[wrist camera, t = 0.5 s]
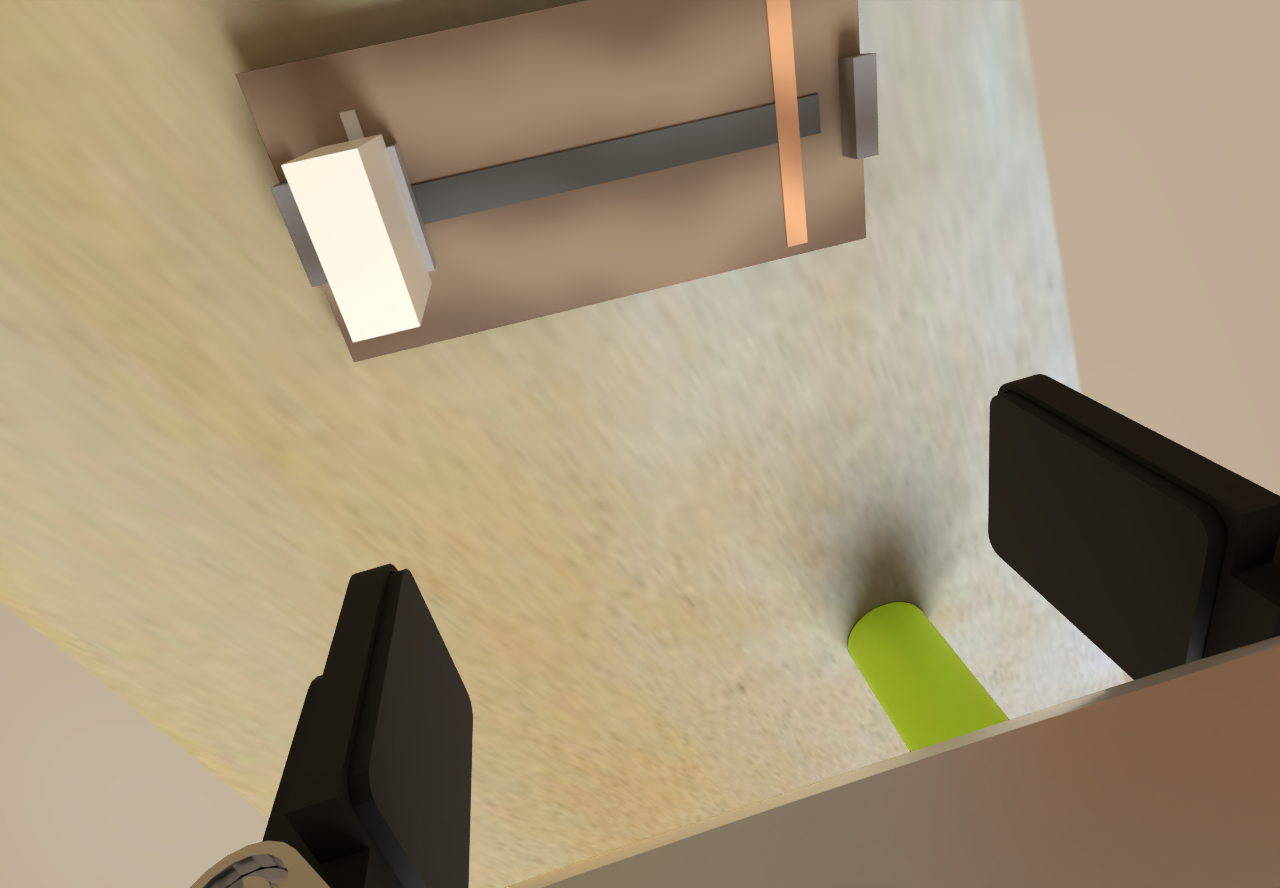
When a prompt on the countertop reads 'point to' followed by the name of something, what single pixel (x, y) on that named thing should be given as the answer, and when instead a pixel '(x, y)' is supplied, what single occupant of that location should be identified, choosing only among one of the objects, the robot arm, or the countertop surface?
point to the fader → (365, 233)
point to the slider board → (594, 147)
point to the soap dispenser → (919, 677)
